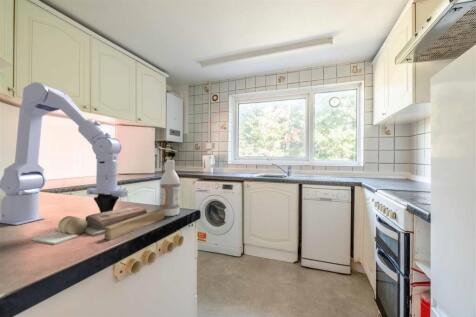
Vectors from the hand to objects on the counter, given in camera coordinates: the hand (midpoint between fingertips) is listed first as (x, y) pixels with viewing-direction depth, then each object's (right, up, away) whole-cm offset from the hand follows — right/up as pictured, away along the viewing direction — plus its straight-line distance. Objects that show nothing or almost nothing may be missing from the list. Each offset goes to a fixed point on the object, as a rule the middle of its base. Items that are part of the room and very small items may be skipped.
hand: (106, 218), depth 72 cm
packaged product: (+4, -2, -2) cm, 5 cm away
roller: (-4, 0, -12) cm, 13 cm away
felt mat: (-5, -1, -14) cm, 15 cm away
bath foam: (+16, -2, +12) cm, 20 cm away
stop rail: (+12, -2, -4) cm, 13 cm away
